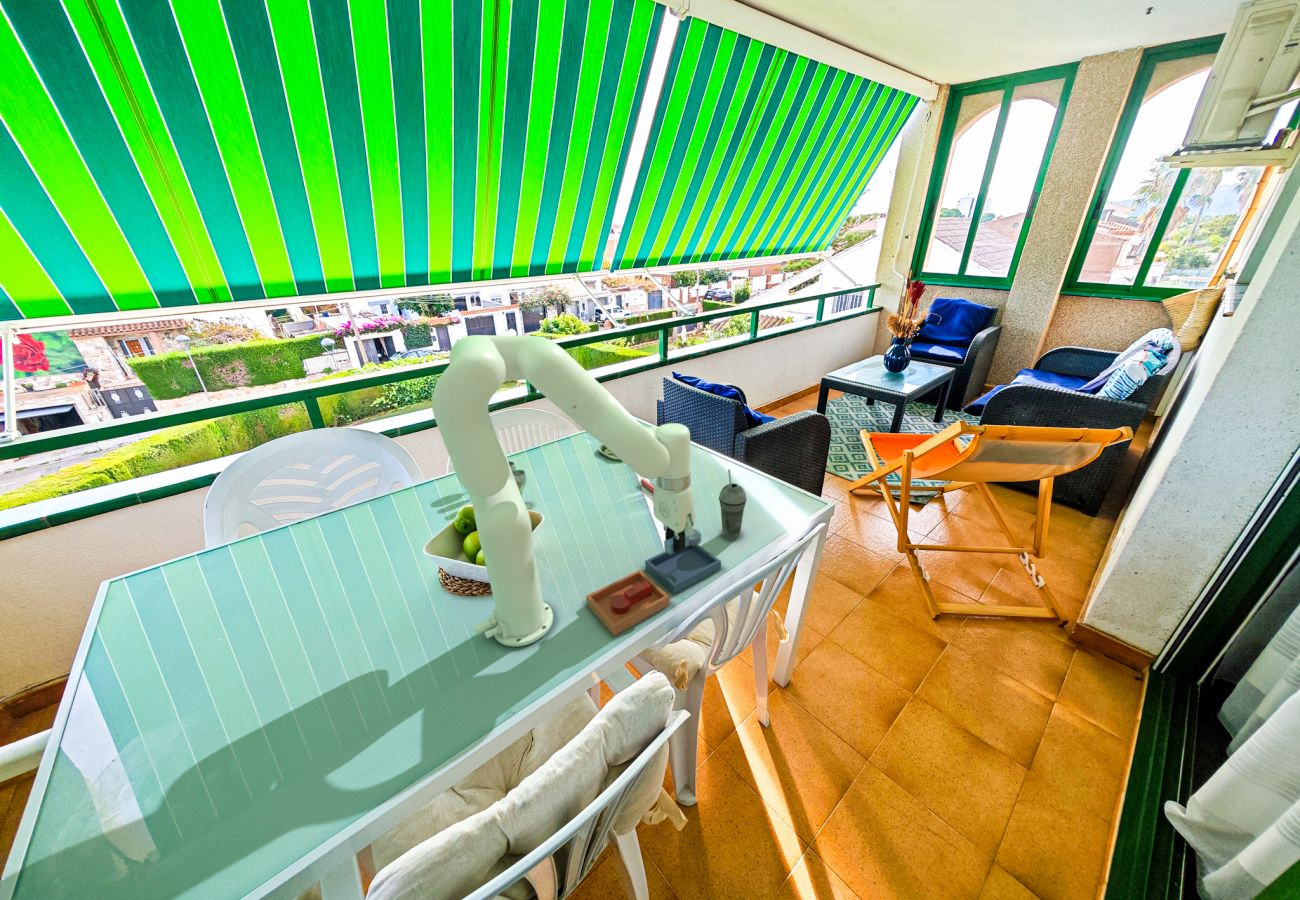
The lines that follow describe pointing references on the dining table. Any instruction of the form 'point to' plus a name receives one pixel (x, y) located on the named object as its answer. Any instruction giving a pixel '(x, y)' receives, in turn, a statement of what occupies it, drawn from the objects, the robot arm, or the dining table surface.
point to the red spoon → (630, 598)
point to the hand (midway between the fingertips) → (675, 546)
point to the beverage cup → (732, 509)
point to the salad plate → (607, 452)
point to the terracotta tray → (637, 612)
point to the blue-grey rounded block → (688, 541)
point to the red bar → (647, 484)
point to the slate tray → (682, 567)
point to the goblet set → (519, 479)
